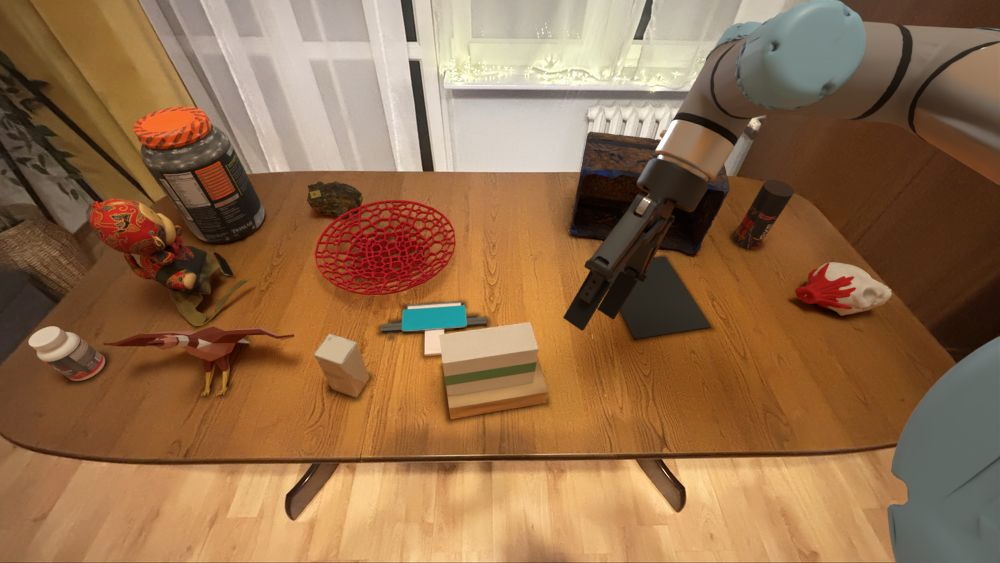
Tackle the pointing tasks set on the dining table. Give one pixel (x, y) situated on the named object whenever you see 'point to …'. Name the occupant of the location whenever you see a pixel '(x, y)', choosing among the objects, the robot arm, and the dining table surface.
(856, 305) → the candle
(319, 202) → the rock
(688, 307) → the mat
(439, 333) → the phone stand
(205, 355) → the decorative bird
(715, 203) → the decorative box
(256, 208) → the supplement tub
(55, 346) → the pill bottle
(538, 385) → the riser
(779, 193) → the deodorant
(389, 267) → the bowl
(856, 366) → the dining table surface
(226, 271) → the red patterned figure
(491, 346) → the packet
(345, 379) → the box
